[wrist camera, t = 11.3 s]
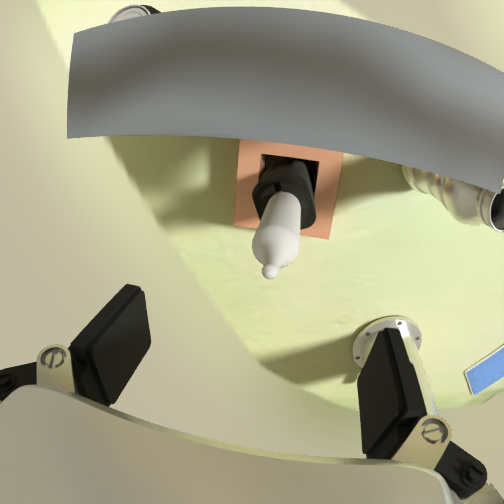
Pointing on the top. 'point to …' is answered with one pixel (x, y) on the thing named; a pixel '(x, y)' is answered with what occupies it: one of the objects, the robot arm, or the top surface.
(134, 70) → the brown board grey top
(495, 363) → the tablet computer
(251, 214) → the socket block
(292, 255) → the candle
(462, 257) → the top surface
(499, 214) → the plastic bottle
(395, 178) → the top surface
